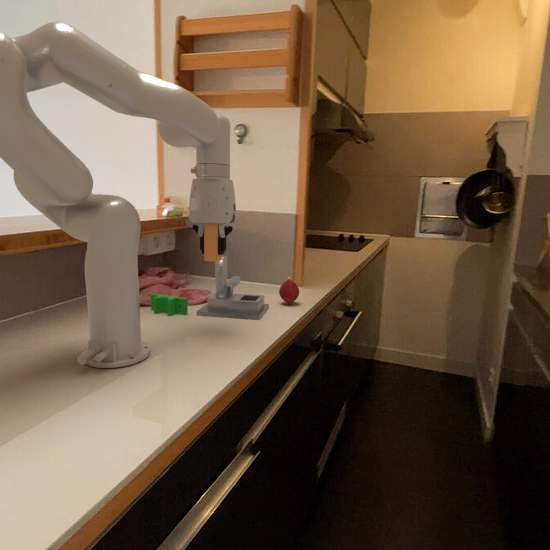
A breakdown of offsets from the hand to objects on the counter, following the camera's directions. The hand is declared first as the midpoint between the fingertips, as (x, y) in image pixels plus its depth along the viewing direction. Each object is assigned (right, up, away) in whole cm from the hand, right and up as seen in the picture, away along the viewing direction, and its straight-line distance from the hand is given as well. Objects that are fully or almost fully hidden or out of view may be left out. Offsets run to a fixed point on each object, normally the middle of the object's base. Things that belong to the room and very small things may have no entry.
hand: (213, 253), depth 101 cm
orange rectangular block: (0, -2, 0) cm, 2 cm away
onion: (+19, -14, +25) cm, 34 cm away
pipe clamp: (-15, -16, +15) cm, 26 cm away
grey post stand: (+4, -14, +22) cm, 26 cm away
